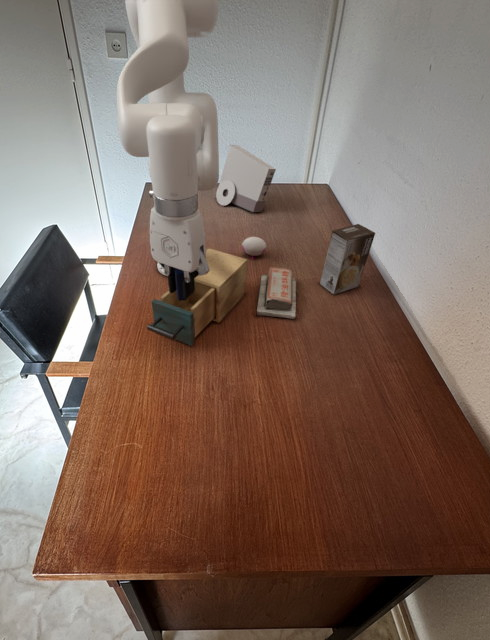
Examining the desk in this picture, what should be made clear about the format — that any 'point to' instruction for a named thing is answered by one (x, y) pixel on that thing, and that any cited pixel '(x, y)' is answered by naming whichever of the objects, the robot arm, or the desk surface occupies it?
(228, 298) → the cabinet
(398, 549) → the desk surface
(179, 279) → the eraser
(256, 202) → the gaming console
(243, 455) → the desk surface
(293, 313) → the packaged product
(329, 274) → the coffee box
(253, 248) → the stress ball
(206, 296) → the drawer
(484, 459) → the desk surface
